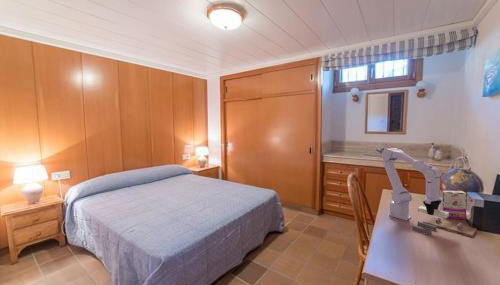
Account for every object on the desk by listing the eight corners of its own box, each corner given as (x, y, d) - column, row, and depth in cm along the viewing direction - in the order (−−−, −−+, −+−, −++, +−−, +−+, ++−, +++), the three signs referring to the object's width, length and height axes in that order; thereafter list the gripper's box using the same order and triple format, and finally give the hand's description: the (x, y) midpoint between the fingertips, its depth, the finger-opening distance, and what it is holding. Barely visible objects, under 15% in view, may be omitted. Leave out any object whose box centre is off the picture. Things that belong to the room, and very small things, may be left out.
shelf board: (448, 216, 110) (448, 212, 110) (445, 218, 107) (446, 214, 107) (421, 209, 120) (421, 205, 120) (417, 211, 117) (417, 207, 117)
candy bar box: (462, 216, 128) (462, 190, 127) (466, 220, 123) (467, 193, 122) (439, 214, 132) (439, 189, 131) (443, 217, 128) (443, 191, 127)
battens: (412, 229, 115) (412, 226, 115) (418, 224, 120) (418, 221, 120) (430, 235, 108) (430, 231, 108) (436, 229, 114) (436, 226, 113)
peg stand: (422, 223, 121) (423, 218, 121) (429, 218, 127) (429, 213, 127) (472, 237, 105) (472, 231, 105) (476, 230, 111) (476, 225, 111)
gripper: (437, 193, 106) (437, 219, 107) (446, 188, 114) (446, 212, 115) (420, 190, 112) (420, 214, 113) (430, 185, 120) (429, 208, 121)
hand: (432, 213), depth 114 cm, fingers closed on shelf board, 5 cm apart
